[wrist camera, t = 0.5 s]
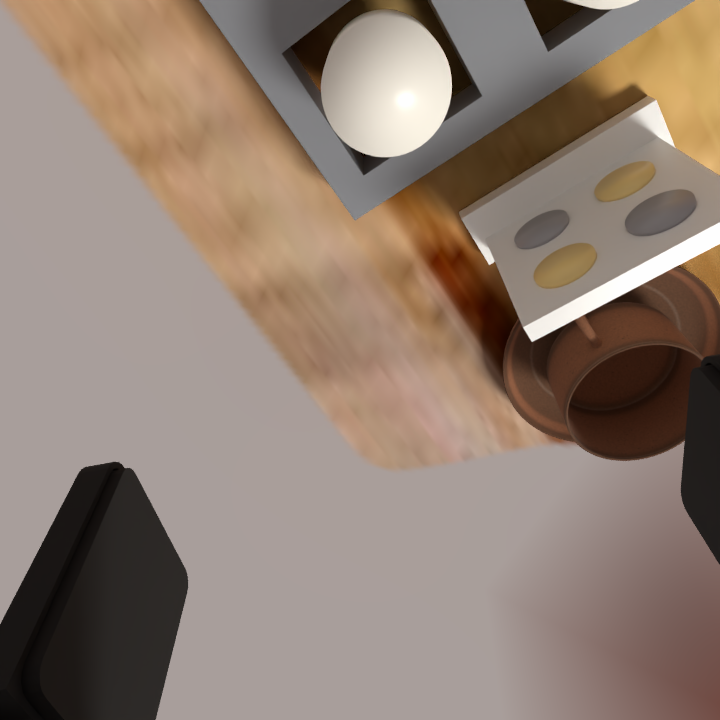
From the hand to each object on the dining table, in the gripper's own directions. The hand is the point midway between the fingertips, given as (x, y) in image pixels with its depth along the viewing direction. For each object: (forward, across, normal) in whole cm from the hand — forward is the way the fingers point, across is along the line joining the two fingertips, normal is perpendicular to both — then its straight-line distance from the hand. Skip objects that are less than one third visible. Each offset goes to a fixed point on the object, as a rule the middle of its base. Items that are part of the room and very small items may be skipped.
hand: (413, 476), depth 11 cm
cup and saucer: (+24, -11, +14) cm, 30 cm away
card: (+23, -9, +4) cm, 25 cm away
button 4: (+20, -1, -3) cm, 21 cm away
